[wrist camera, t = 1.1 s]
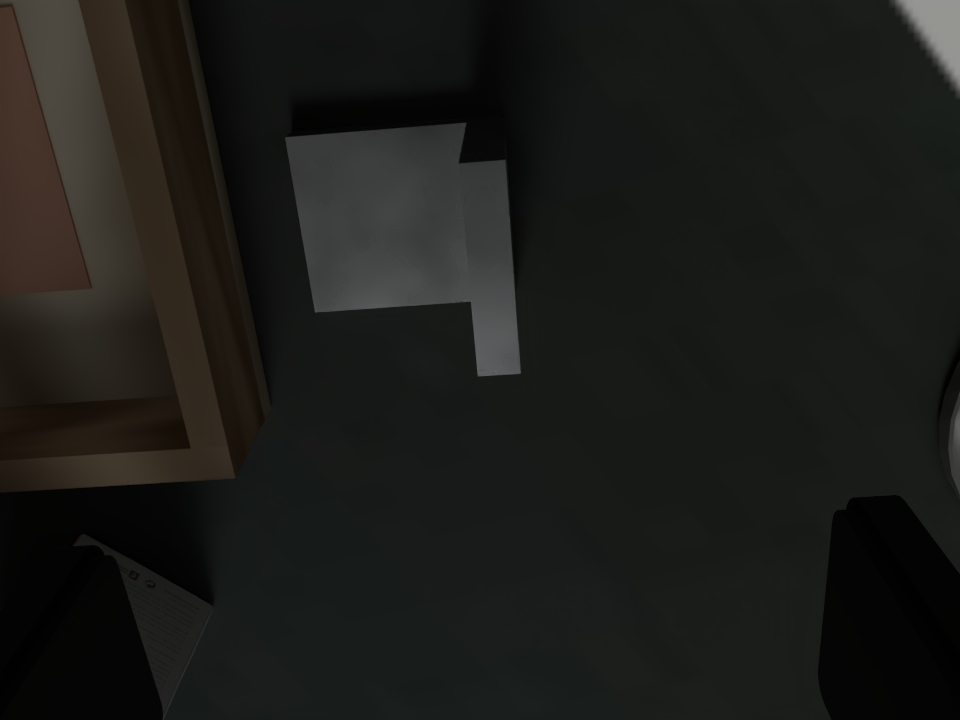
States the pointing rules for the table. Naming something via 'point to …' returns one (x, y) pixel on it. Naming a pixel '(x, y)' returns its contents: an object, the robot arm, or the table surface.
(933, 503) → the table surface
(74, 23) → the wooden tray
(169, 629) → the small box
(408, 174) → the bracket
